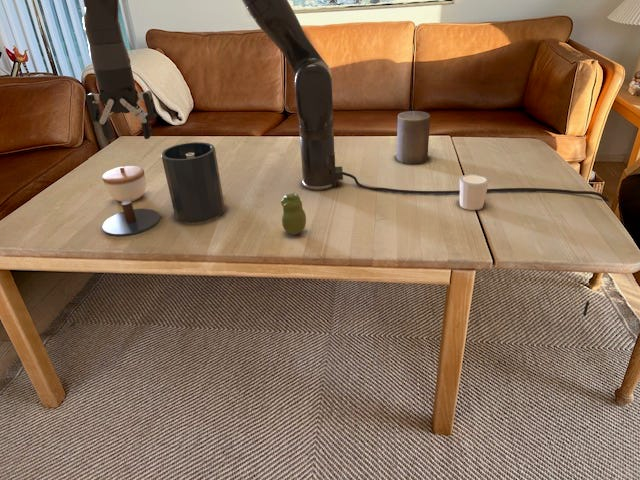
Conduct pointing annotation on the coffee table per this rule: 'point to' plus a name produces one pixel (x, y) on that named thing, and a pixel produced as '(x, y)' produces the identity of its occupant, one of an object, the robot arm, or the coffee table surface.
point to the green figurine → (293, 214)
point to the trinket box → (125, 183)
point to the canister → (193, 181)
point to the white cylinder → (473, 191)
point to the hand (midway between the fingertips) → (129, 138)
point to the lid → (130, 221)
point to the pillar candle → (413, 137)
